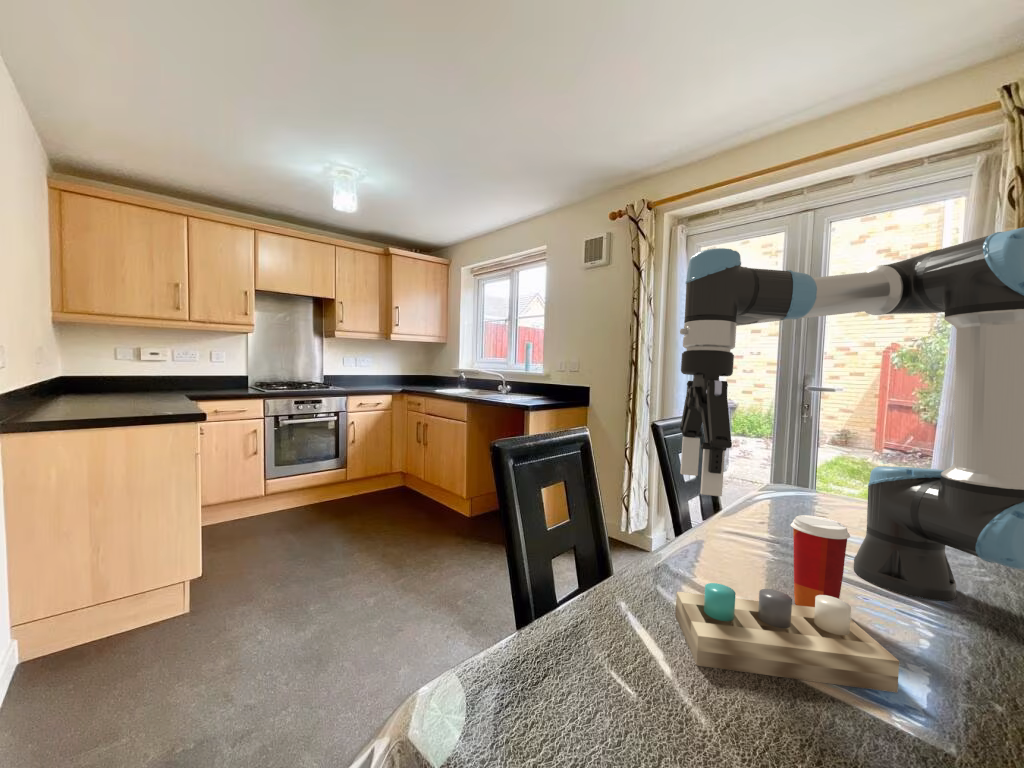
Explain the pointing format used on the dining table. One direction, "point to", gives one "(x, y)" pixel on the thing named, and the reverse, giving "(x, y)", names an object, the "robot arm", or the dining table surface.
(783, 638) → the wooden button tray
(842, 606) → the white rounded cylinder
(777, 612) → the gray button
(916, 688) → the dining table surface
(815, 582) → the coffee cup
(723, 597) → the teal button
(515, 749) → the dining table surface
